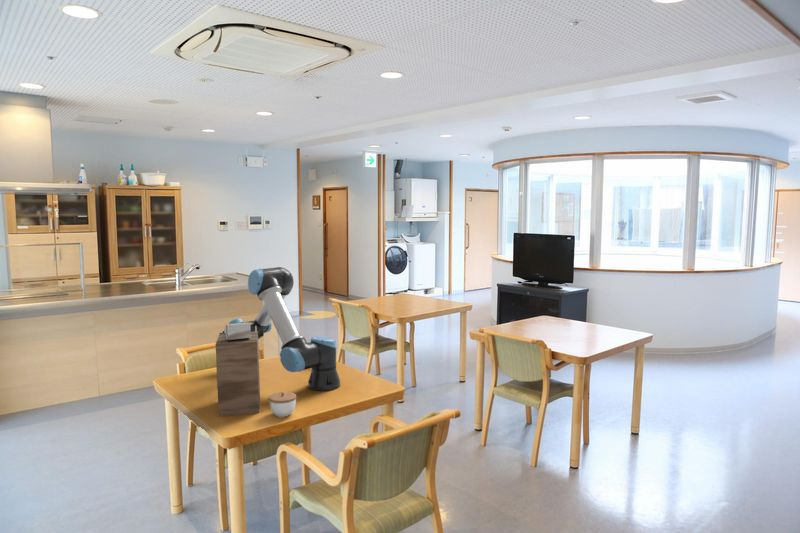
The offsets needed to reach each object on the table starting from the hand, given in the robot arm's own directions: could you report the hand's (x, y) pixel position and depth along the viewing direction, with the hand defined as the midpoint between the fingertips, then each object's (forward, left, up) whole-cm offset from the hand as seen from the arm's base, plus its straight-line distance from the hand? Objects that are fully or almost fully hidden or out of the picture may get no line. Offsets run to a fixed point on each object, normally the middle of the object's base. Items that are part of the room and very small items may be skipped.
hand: (240, 329), depth 253 cm
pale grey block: (-8, +17, +1) cm, 18 cm away
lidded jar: (-35, +25, -28) cm, 51 cm away
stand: (-13, +22, -28) cm, 38 cm away
